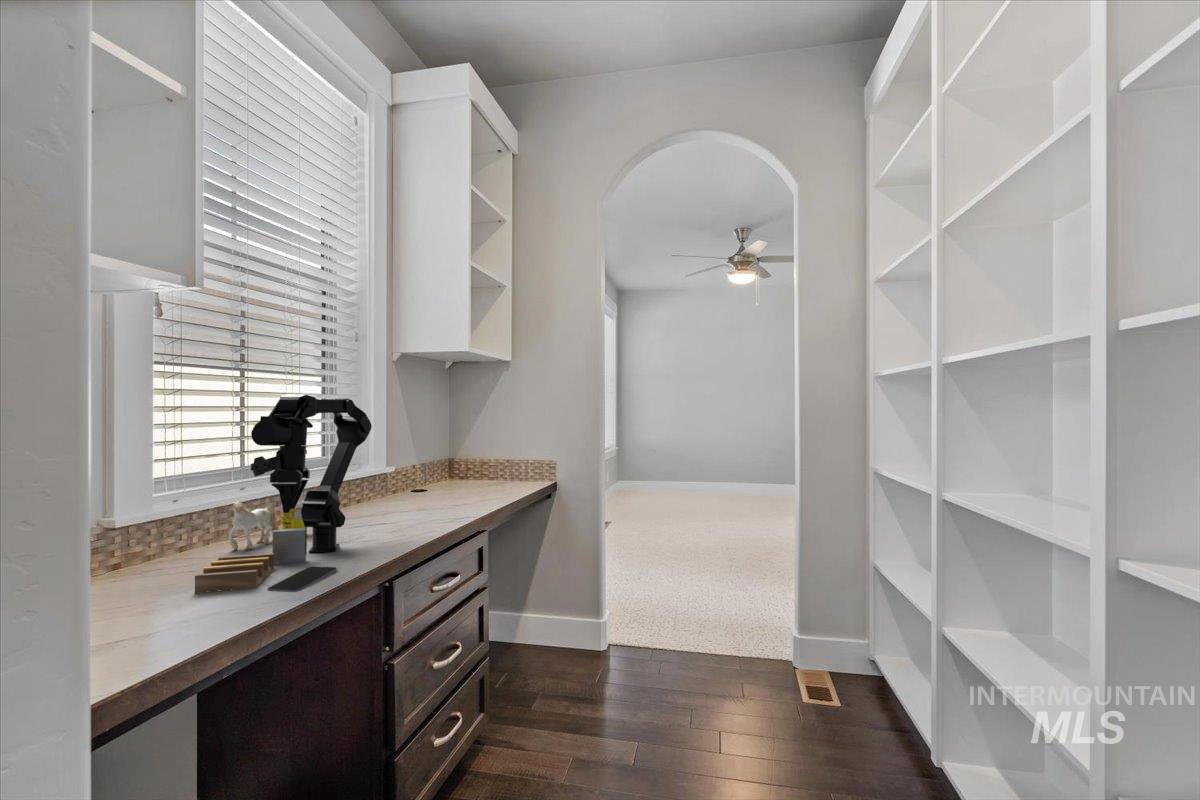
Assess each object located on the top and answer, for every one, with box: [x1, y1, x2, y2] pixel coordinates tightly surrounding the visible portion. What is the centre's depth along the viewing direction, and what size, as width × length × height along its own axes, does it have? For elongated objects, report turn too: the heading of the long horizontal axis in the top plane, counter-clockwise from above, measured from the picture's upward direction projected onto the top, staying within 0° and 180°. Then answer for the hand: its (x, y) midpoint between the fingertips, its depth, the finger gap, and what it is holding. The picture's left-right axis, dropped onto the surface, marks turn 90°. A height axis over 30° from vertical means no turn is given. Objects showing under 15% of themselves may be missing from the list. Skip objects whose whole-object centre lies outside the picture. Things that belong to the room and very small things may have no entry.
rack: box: [194, 552, 275, 594], centre depth 125 cm, size 15×11×4 cm
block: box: [272, 527, 308, 566], centre depth 138 cm, size 2×7×8 cm, turn 107°
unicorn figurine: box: [228, 501, 280, 551], centre depth 152 cm, size 7×20×13 cm, turn 6°
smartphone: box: [267, 566, 338, 593], centre depth 125 cm, size 7×1×15 cm
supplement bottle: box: [280, 491, 308, 530], centre depth 165 cm, size 7×7×13 cm
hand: (289, 510), depth 138 cm, fingers open, 9 cm apart
